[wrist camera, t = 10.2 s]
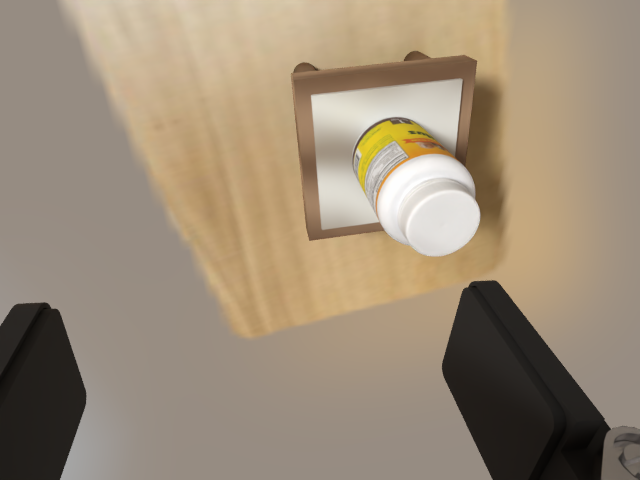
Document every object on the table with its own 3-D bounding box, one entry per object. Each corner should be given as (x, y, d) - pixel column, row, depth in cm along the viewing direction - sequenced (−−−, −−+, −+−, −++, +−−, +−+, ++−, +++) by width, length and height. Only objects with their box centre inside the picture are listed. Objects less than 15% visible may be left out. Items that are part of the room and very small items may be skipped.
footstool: (283, 56, 35) (294, 81, 28) (433, 41, 36) (479, 61, 29) (298, 194, 41) (309, 242, 34) (424, 178, 42) (460, 221, 36)
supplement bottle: (442, 149, 32) (516, 220, 23) (384, 202, 34) (434, 287, 25) (393, 95, 29) (456, 152, 21) (332, 155, 31) (368, 232, 22)
